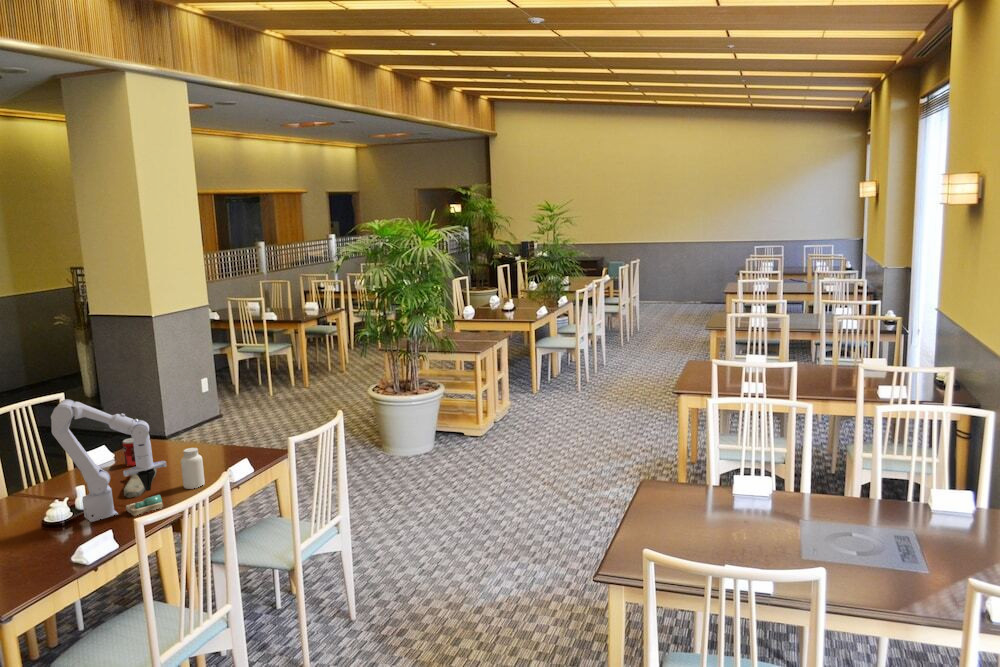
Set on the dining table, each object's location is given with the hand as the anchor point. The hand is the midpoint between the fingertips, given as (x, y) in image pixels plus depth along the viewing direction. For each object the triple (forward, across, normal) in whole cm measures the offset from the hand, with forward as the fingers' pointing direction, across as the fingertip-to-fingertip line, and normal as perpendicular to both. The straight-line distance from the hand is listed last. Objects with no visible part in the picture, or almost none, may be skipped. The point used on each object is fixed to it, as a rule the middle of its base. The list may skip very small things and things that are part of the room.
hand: (147, 490), depth 284 cm
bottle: (+5, -4, 0) cm, 6 cm away
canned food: (+7, -15, -62) cm, 64 cm away
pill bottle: (+7, -21, -11) cm, 25 cm away
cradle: (+7, +1, 0) cm, 7 cm away
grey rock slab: (+8, -7, -32) cm, 34 cm away
